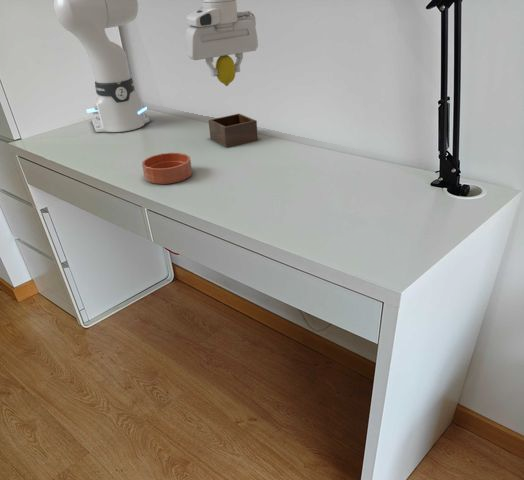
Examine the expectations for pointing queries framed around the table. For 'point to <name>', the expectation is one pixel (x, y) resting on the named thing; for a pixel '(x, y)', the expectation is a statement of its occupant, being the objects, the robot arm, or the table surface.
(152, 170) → the bowl
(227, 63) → the lemon
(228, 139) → the holder
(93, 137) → the table surface
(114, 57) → the robot arm
